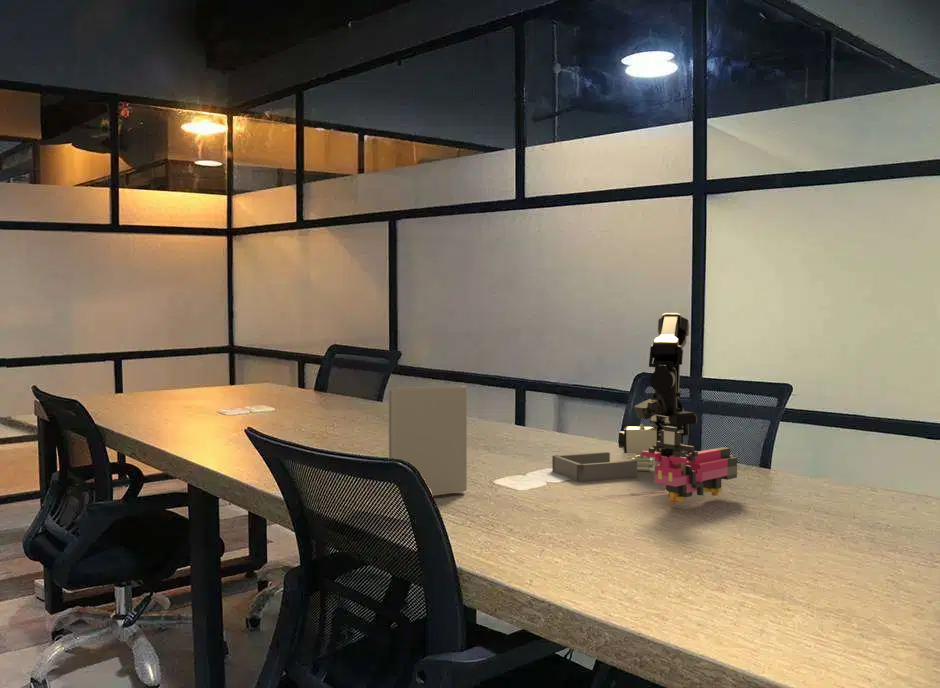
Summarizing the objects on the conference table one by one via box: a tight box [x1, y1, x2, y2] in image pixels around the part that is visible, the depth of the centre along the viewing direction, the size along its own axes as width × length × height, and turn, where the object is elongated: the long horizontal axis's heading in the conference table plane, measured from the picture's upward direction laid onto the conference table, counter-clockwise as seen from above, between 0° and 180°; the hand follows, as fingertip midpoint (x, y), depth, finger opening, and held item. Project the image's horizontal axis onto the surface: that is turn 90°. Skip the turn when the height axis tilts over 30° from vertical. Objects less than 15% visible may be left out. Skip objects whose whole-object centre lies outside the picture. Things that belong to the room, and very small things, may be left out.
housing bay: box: [551, 451, 638, 483], centre depth 213 cm, size 16×14×4 cm
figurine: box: [642, 426, 738, 505], centre depth 186 cm, size 11×25×17 cm, turn 129°
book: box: [388, 385, 468, 496], centre depth 191 cm, size 18×4×24 cm, turn 116°
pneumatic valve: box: [617, 423, 665, 472], centre depth 218 cm, size 6×12×12 cm, turn 74°
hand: (666, 448), depth 220 cm, fingers closed
